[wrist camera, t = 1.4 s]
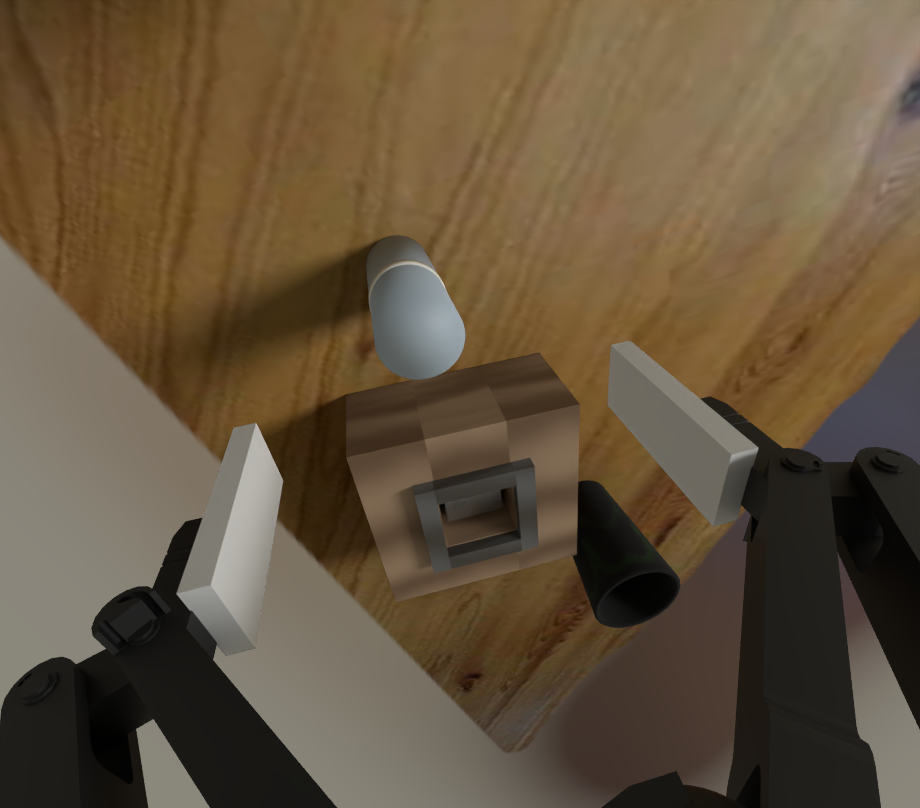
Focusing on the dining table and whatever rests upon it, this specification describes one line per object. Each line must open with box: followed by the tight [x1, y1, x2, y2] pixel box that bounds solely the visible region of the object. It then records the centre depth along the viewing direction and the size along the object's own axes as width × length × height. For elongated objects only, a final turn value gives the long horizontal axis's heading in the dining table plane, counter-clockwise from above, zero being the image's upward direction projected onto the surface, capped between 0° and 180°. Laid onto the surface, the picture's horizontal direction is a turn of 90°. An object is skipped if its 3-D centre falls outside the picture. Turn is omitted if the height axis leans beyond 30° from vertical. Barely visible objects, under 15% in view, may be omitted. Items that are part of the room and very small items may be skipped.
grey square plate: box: [444, 490, 502, 522], centre depth 37 cm, size 5×5×1 cm
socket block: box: [346, 353, 580, 602], centre depth 38 cm, size 16×16×9 cm
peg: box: [366, 235, 465, 380], centre depth 28 cm, size 4×4×12 cm
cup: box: [573, 481, 680, 628], centre depth 44 cm, size 8×8×12 cm
